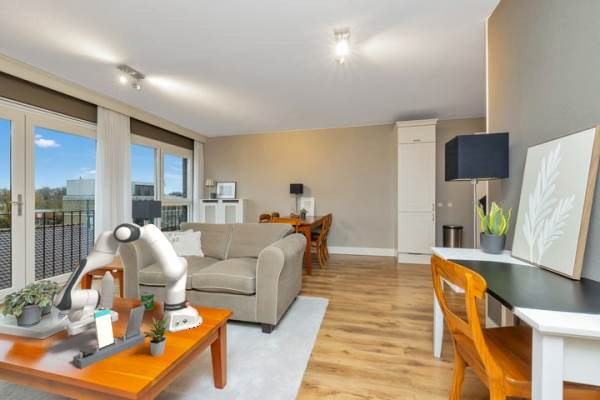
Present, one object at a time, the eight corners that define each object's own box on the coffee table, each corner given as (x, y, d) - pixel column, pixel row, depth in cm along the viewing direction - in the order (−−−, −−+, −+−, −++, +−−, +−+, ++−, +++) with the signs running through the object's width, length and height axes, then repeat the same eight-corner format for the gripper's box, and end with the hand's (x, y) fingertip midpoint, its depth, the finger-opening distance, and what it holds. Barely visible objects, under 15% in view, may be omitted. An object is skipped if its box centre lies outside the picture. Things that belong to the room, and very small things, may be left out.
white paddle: (112, 342, 128) (107, 309, 131) (114, 342, 127) (109, 308, 130) (97, 348, 123) (93, 313, 126) (99, 348, 122) (94, 312, 125)
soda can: (139, 309, 177) (139, 291, 177) (151, 306, 183) (151, 289, 183) (142, 312, 172) (143, 294, 172) (155, 309, 178) (155, 291, 178)
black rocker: (90, 349, 122) (90, 346, 122) (96, 350, 119) (96, 347, 119) (80, 353, 119) (80, 350, 119) (86, 354, 116) (85, 352, 116)
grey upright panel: (137, 332, 138) (143, 305, 135) (138, 333, 137) (145, 306, 135) (124, 336, 133) (131, 309, 130) (126, 338, 132) (132, 310, 129)
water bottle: (103, 311, 173) (104, 273, 174) (98, 309, 177) (99, 271, 177) (118, 307, 181) (119, 270, 181) (113, 305, 184) (114, 269, 185)
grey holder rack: (136, 337, 141) (136, 327, 141) (144, 341, 137) (145, 331, 137) (73, 362, 118) (73, 350, 118) (81, 369, 114) (81, 356, 114)
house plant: (154, 342, 136) (155, 310, 136) (180, 344, 134) (180, 312, 134) (134, 358, 121) (135, 323, 122) (162, 361, 120) (163, 325, 120)
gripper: (62, 321, 126) (74, 328, 119) (110, 307, 144) (123, 312, 137) (62, 334, 126) (74, 342, 119) (110, 318, 144) (123, 325, 137)
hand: (101, 326), depth 128 cm, fingers closed
